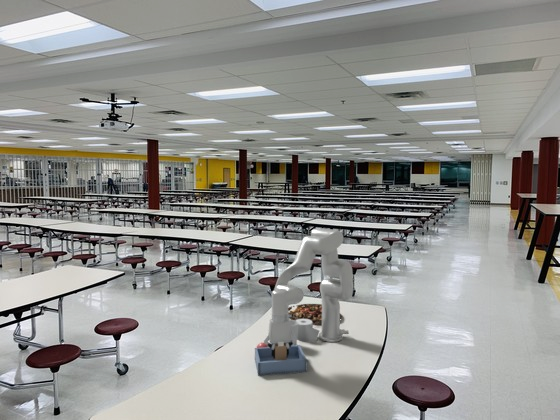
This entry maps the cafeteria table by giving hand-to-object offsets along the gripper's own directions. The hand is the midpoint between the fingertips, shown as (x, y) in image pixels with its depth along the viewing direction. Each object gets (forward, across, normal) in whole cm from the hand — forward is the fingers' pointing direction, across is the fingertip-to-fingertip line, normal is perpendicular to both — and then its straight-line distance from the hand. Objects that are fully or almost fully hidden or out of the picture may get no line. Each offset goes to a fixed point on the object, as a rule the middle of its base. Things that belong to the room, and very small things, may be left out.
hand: (280, 356), depth 175 cm
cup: (+4, -8, -20) cm, 22 cm away
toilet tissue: (+5, -18, -28) cm, 34 cm away
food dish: (+5, -30, -60) cm, 68 cm away
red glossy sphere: (+4, +7, -11) cm, 14 cm away
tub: (+4, 0, 0) cm, 4 cm away
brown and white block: (+2, 0, 0) cm, 2 cm away
